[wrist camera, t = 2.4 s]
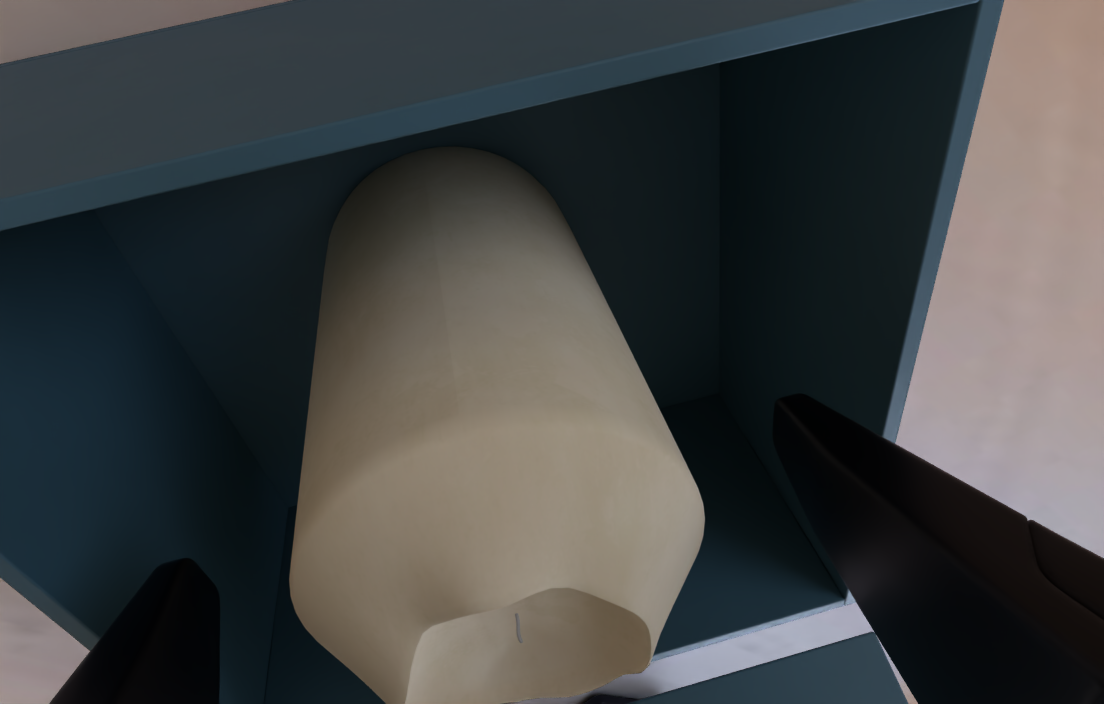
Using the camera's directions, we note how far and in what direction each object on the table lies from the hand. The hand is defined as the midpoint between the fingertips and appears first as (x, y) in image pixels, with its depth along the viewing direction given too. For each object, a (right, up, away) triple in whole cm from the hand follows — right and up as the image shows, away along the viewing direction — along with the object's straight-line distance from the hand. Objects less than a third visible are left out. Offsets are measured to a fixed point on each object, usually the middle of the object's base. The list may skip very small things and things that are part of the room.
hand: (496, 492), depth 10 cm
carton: (-1, +4, +6) cm, 7 cm away
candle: (-1, +4, +6) cm, 7 cm away
